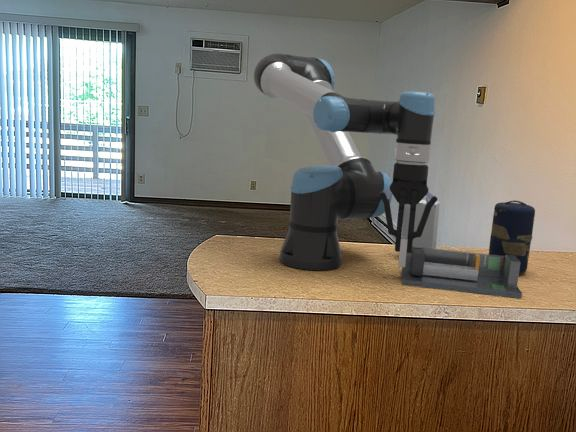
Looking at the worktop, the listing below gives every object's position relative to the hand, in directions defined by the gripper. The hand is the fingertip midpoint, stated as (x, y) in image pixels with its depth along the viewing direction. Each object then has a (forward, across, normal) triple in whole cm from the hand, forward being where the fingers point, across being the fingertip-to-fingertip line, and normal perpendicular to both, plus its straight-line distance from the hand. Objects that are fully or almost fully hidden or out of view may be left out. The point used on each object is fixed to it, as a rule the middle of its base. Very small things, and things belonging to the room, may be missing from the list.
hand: (401, 265), depth 129 cm
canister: (+3, +26, +18) cm, 32 cm away
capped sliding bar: (+1, +10, +1) cm, 10 cm away
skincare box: (+3, +4, +20) cm, 20 cm away
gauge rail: (+3, +13, +1) cm, 13 cm away
